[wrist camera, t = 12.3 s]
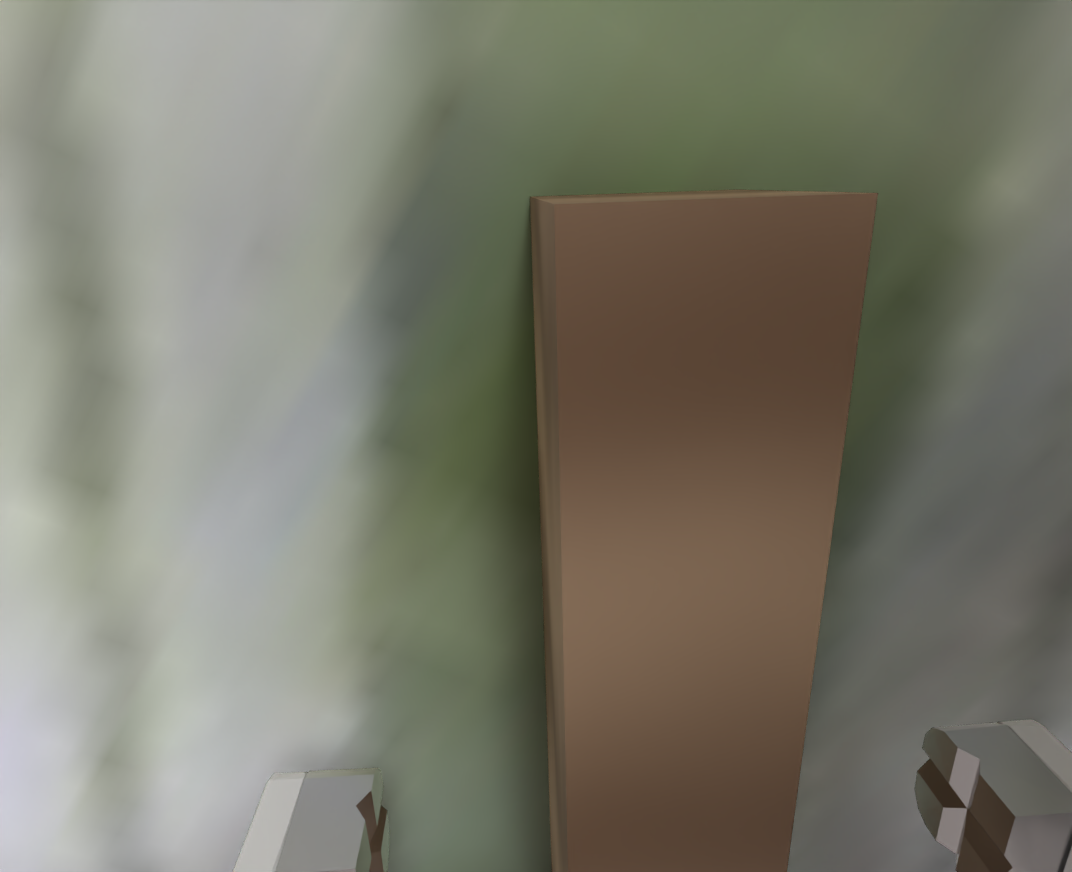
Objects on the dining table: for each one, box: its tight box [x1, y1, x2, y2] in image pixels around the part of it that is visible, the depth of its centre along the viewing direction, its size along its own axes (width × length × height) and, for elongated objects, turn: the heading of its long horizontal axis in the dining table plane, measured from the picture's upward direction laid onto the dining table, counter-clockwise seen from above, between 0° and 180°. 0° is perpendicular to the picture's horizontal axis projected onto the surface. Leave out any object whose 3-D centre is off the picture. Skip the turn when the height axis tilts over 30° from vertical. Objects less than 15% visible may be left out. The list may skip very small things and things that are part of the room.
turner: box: [530, 190, 878, 872], centre depth 12 cm, size 20×8×4 cm, turn 2°
